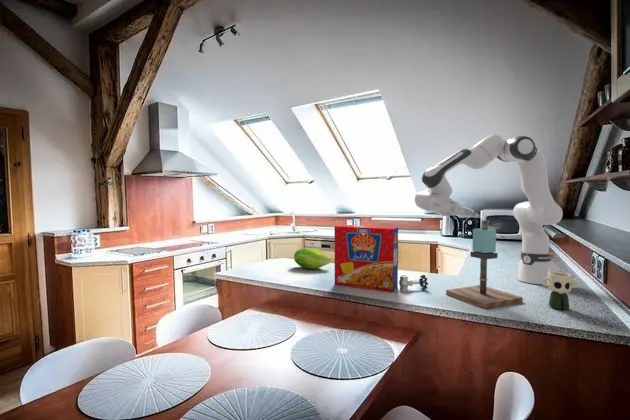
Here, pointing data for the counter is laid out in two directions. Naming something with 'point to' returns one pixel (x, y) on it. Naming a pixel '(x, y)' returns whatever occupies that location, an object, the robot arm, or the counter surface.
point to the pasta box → (366, 257)
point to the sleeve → (484, 240)
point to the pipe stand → (484, 289)
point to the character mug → (559, 288)
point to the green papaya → (311, 258)
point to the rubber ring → (484, 255)
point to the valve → (412, 282)
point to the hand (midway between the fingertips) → (470, 213)
